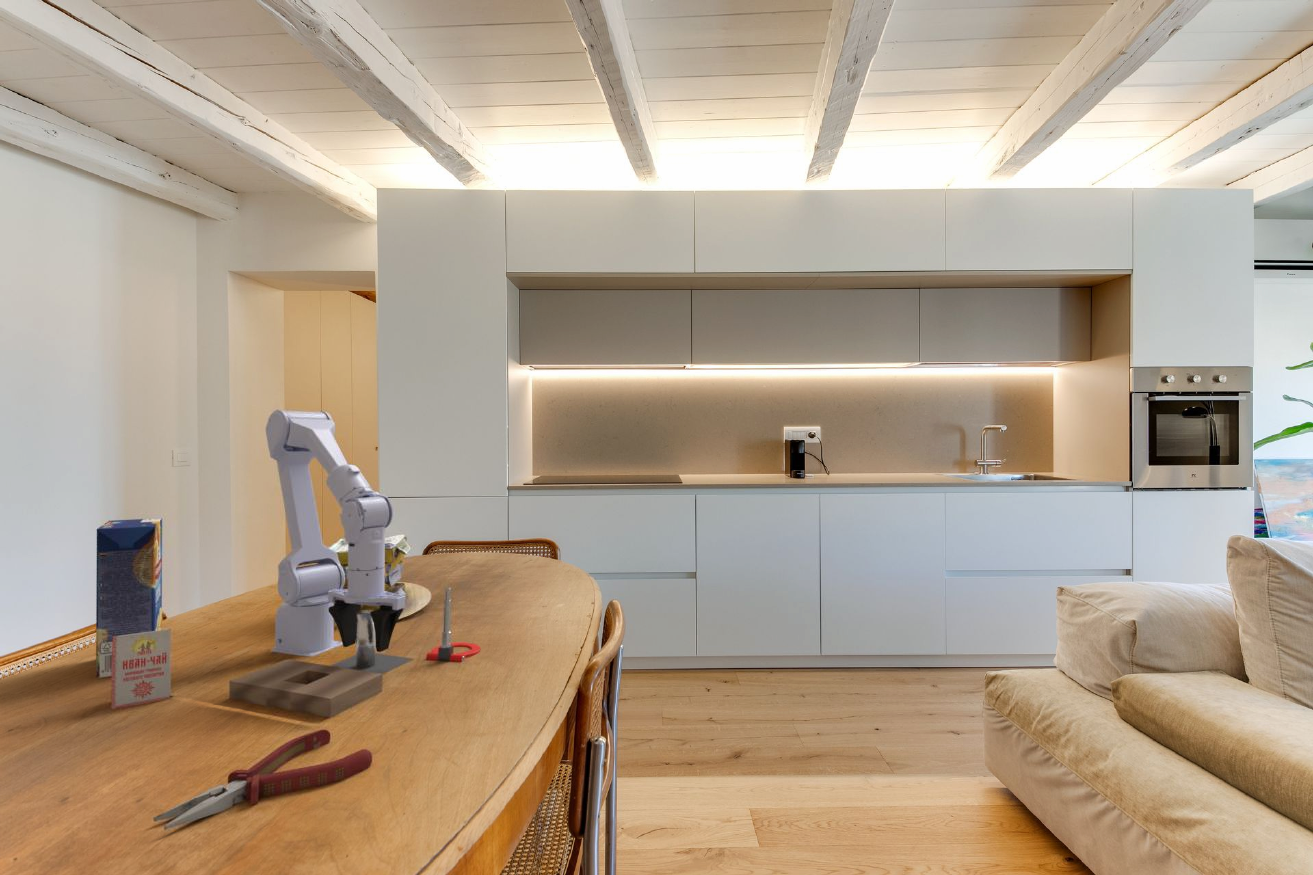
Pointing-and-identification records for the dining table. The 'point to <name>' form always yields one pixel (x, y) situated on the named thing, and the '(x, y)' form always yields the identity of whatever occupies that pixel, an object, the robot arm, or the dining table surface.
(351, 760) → the pliers
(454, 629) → the dining table surface
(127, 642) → the tea bag
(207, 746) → the dining table surface
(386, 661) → the mat
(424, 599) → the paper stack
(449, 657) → the tow hook
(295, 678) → the hole block
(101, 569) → the juice carton
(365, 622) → the peg
